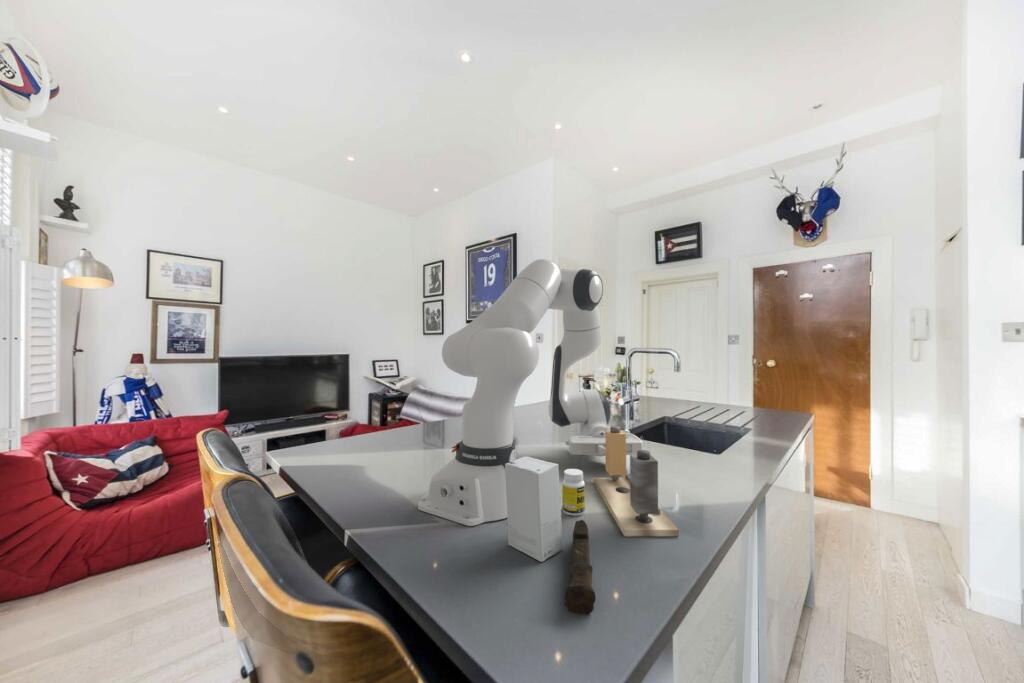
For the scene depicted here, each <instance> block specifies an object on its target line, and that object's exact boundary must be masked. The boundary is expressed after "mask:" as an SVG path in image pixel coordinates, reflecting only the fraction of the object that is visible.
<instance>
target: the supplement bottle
mask: <svg viewBox="0 0 1024 683" xmlns="http://www.w3.org/2000/svg"><path fill="white" fill-rule="evenodd" d="M561 484H562V486H561V488H562V490H561V492H562V493H561V494H562V497H561V500H562V502H561V505H562V506H561V508H562V509H561V511H562V512H563V513H564V514H565V515H568V516H573V517H578V516H582V515H583V514H584V513H585V510H586V502H585V501H586V495H585V494H586V492H585V491H586V488H585V486H586V484H585V481H584V472H583V470H581V469H578V468H567V469H564V471H563V480H562V483H561Z"/></svg>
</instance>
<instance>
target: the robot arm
mask: <svg viewBox="0 0 1024 683" xmlns="http://www.w3.org/2000/svg"><path fill="white" fill-rule="evenodd" d="M603 284H604V283H603V281H602V278H601V276H600V275H599V274H598V273H597V272H596V271H595V270H591V269H587V268H586V269H585V268H583V269H560V268H559V267H558V265H556V263H554V262H552V261H551V260H549V259H545V258H540V259H536V260H533V261H532V262H531V263H529V264H528V265H527V266H525V267H524V268H523V269H522V270H521V271H520V272H519V273H518V274H517V275H516V276H515V278H514V279H513V280H512V281H511V283H510V284H508V286H507V287H506V288H505V290H504V291H503V292H502V293H501V295H500V296H499V297H498V298H497V299H496V300H495V302H494V303H492V304H491V305H490V306H489V307H488V308H486V309H485V310H484V311H483V312H482V313H480V314H479V315H478V316H477V317H476V318H474V319H473V320H472V321H471V322H469V323H468V324H467V325H465V326H464V327H463V328H461V329H459V330H457V331H456V332H453V333H452V334H450V335H449V336H447V337H446V339H444V340H445V341H444V342H443V344H442V348H441V355H442V356H441V357H442V360H443V364H444V365H445V366H446V367H447V368H448V369H449V370H450V371H453V372H454V373H457V374H459V375H461V376H464V377H470V378H471V377H472V378H476V385H475V389H474V392H473V394H472V396H471V398H470V399H468V400H467V401H466V402H465V403H464V405H463V407H462V417H461V419H462V421H461V422H462V424H461V425H462V439H461V441H459V442H457V443H456V444H455V445H454V446H452V447H451V449H452V450H451V453H455V455H454V456H455V457H454V458H453V459H451V460H450V461H449V462H447V464H445V465H444V466H443V467H441V468H440V469H439V470H438V471H436V473H434V475H433V476H432V478H431V480H430V483H429V487H428V491H427V492H426V493H425V494H423V495H422V497H421V498H419V500H418V502H417V510H419V511H421V512H425V513H427V514H430V515H431V514H432V515H433V516H436V517H440V518H443V519H446V520H449V521H451V522H455V523H458V524H461V525H464V526H468V527H473V526H478V525H480V524H484V523H486V522H488V523H489V522H494V521H499V520H505V519H506V518H507V498H506V476H505V464H506V463H509V462H511V461H514V460H517V457H516V456H517V454H516V452H517V451H516V441H515V440H514V414H515V413H514V409H515V403H516V399H517V397H518V393H519V391H520V389H521V386H522V385H523V383H524V382H525V381H526V379H527V378H529V376H531V375H532V373H534V371H535V370H536V368H537V366H538V362H539V357H540V356H539V355H540V350H539V345H538V343H537V341H536V339H535V338H534V336H533V335H532V334H531V333H532V332H533V331H534V330H535V328H537V326H538V325H539V323H540V321H541V320H542V319H543V317H544V315H545V313H546V312H547V310H549V309H550V310H558V311H562V322H563V323H562V325H563V336H562V340H561V341H560V343H559V345H557V346H556V347H555V349H554V354H553V360H552V372H551V386H550V388H551V389H550V397H549V403H548V415H549V418H550V421H551V422H552V423H554V424H555V425H557V426H558V427H560V428H563V427H567V426H570V425H575V424H577V432H578V433H577V434H578V435H572V436H571V435H570V436H569V437H568V439H565V440H564V443H565V445H567V446H568V453H569V454H570V455H572V456H596V457H605V458H606V453H605V430H610V427H611V426H609V425H608V424H609V423H610V420H611V406H610V402H609V401H608V399H607V397H606V395H604V393H603V392H602V391H600V390H598V389H595V388H594V389H589V390H582V391H576V392H569V393H567V392H566V380H567V372H568V370H569V369H570V368H571V366H573V365H574V364H576V363H577V362H579V361H580V360H582V359H585V358H586V357H588V356H590V355H592V354H593V353H594V352H595V351H596V350H597V349H598V347H599V346H600V345H601V342H602V336H603V335H602V320H601V319H602V318H601V314H600V307H599V304H600V302H601V300H602V297H603V293H604V285H603ZM565 392H566V393H565ZM620 430H621V431H623V432H624V433H625V434H626V456H630V455H637V451H638V450H644V442H643V440H642V439H641V438H640V437H638V436H637V435H635V434H634V433H631V431H630V430H629V429H627V428H622V427H620Z"/></svg>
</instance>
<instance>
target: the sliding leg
mask: <svg viewBox="0 0 1024 683" xmlns="http://www.w3.org/2000/svg"><path fill="white" fill-rule="evenodd" d="M620 428H621V426H617V425H615V426H614V425H612V426H610V430H605V453H606V457H605V471H606V472H607V474H608V475H609V476H611V478H612V479H613V480H619V478H620V476H625V475H626V474H627V455H626V434H625V433H624V432H623V431H621V430H620Z"/></svg>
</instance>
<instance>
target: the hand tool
mask: <svg viewBox="0 0 1024 683" xmlns="http://www.w3.org/2000/svg"><path fill="white" fill-rule="evenodd" d="M589 541H590V540H589V528H588V525H587V523H586V521H585V520H583V519H580V520H576V521H575V523H574V528H573V532H572V545H571V548H572V549H571V555H570V567H569V577H568V578H569V580H568V585H567V587H566V589H565V592H564V606H565V608H566V609H567V610H568V611H569V612H570V613H577V614H582V615H588V614H591V613H593V611H594V609H595V606H594V605H595V603H596V592H595V591H594V588H593V587H592V582H593V566H592V565H591V563H590V562H591V561H590V560H591V559H590V544H589Z"/></svg>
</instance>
